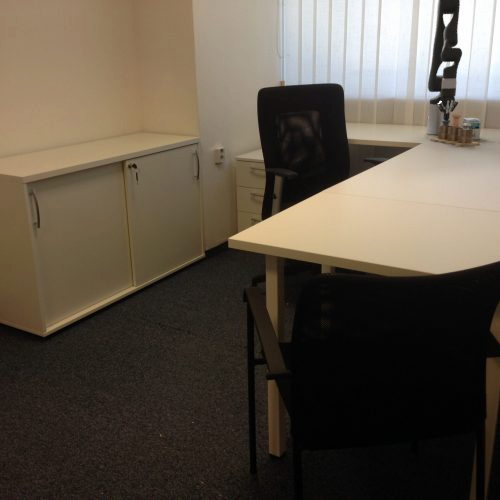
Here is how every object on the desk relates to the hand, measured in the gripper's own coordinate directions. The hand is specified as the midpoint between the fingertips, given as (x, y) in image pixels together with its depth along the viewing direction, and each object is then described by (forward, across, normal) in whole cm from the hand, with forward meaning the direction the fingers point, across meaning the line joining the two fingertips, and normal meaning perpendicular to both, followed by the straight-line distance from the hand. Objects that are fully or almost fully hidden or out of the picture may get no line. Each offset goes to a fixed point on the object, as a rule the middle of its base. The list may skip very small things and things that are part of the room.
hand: (446, 120), depth 317 cm
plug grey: (+10, 0, +16) cm, 19 cm away
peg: (+9, 0, 0) cm, 9 cm away
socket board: (+11, 0, +8) cm, 14 cm away
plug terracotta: (+6, 0, +8) cm, 10 cm away
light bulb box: (+11, -17, +1) cm, 20 cm away
